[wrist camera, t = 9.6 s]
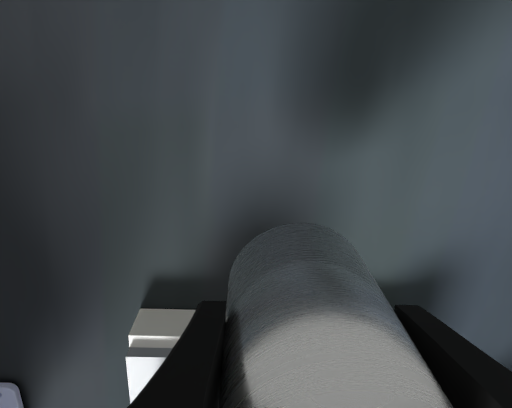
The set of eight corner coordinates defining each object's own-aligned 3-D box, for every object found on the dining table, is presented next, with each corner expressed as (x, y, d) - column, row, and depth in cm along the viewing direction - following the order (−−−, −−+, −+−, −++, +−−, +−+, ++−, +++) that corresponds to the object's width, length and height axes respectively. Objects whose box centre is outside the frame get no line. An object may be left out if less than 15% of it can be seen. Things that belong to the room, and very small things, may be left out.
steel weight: (226, 339, 12) (210, 570, 7) (230, 220, 11) (213, 389, 5) (354, 341, 12) (444, 568, 7) (375, 225, 11) (516, 394, 5)
